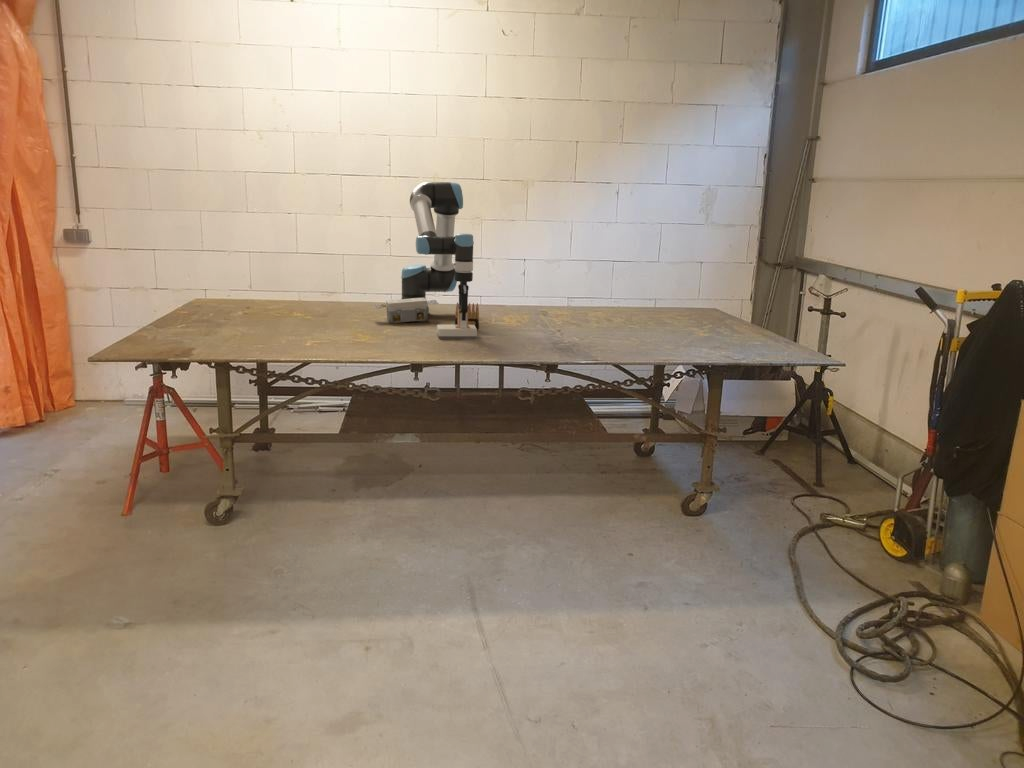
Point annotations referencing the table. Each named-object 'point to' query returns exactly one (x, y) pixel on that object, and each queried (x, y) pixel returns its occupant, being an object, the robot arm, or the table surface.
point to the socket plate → (456, 332)
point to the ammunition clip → (470, 315)
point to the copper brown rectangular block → (459, 316)
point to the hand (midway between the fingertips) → (462, 326)
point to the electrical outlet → (407, 309)
